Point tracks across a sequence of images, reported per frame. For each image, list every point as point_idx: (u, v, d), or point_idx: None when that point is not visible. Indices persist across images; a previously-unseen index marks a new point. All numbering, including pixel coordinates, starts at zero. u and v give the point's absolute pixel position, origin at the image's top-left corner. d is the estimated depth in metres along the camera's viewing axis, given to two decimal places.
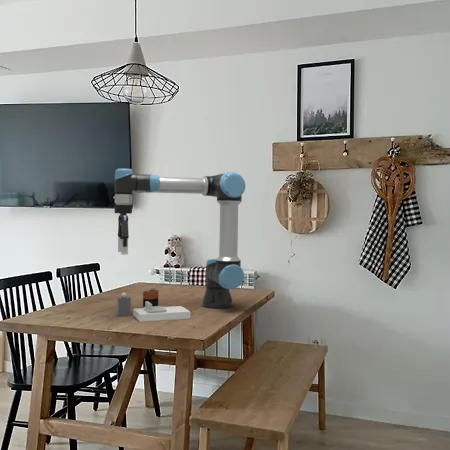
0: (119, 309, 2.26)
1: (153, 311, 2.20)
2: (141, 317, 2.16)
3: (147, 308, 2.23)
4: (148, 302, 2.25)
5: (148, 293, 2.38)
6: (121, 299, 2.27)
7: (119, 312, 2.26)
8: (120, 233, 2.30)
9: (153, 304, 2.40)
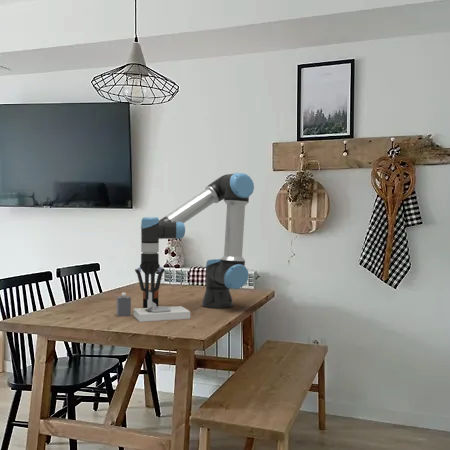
0: (119, 309, 2.26)
1: (157, 311, 2.20)
2: (141, 317, 2.16)
3: (151, 308, 2.24)
4: (152, 302, 2.25)
5: None
6: (121, 299, 2.27)
7: (119, 312, 2.26)
8: (151, 285, 2.25)
9: None
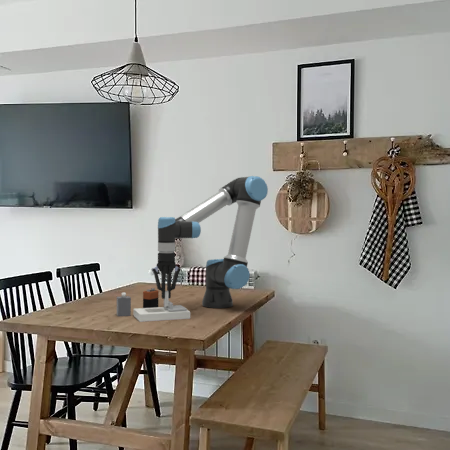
0: (119, 309, 2.26)
1: (174, 310, 2.23)
2: (141, 317, 2.16)
3: (168, 307, 2.26)
4: None
5: (148, 293, 2.38)
6: (121, 299, 2.27)
7: (119, 312, 2.26)
8: (167, 284, 2.27)
9: (153, 304, 2.40)
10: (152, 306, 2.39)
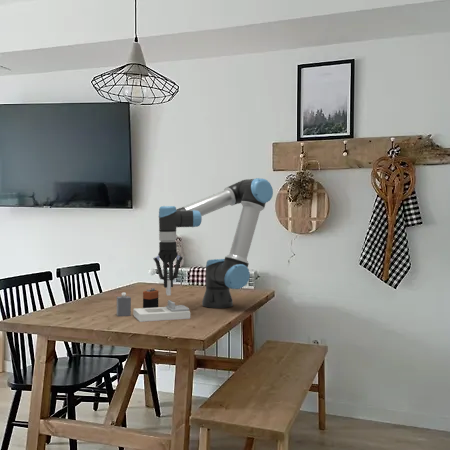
0: (119, 309, 2.26)
1: (176, 310, 2.23)
2: (141, 317, 2.16)
3: (170, 307, 2.27)
4: (171, 301, 2.28)
5: (148, 293, 2.38)
6: (121, 299, 2.27)
7: (119, 312, 2.26)
8: (169, 273, 2.28)
9: (153, 304, 2.40)
10: (152, 306, 2.39)
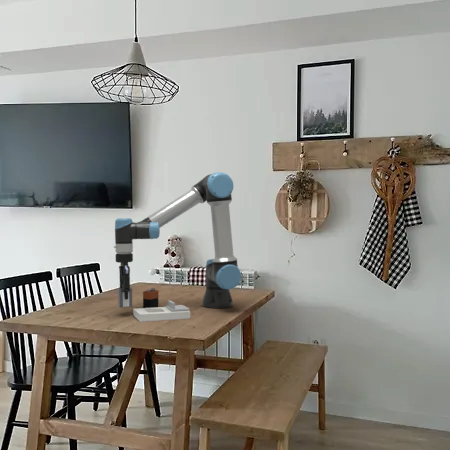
0: (120, 300, 2.26)
1: (176, 310, 2.23)
2: (141, 317, 2.16)
3: (170, 307, 2.27)
4: (171, 301, 2.28)
5: (148, 293, 2.38)
6: (122, 290, 2.27)
7: (120, 303, 2.26)
8: (122, 284, 2.31)
9: (153, 304, 2.40)
10: (152, 306, 2.39)
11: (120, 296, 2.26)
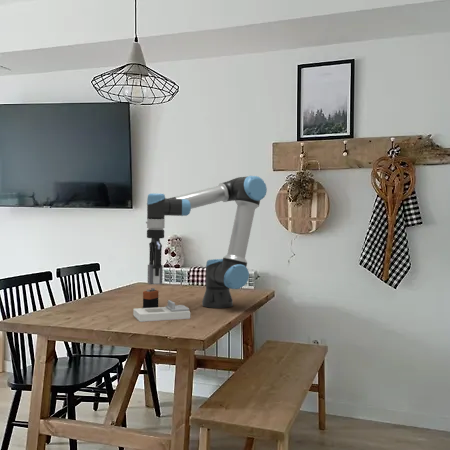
0: (151, 277, 2.22)
1: (176, 310, 2.23)
2: (141, 317, 2.16)
3: (170, 307, 2.27)
4: (171, 301, 2.28)
5: (148, 293, 2.38)
6: (153, 266, 2.22)
7: (151, 280, 2.22)
8: (152, 261, 2.27)
9: (153, 304, 2.40)
10: (152, 306, 2.39)
11: (150, 272, 2.22)
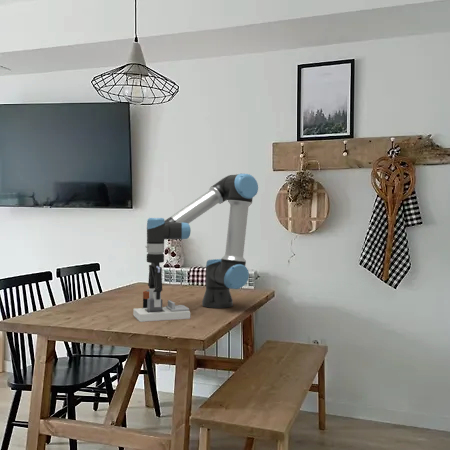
0: (151, 311, 2.22)
1: (176, 310, 2.23)
2: (141, 317, 2.16)
3: (170, 307, 2.27)
4: (171, 301, 2.28)
5: (148, 293, 2.38)
6: (153, 301, 2.22)
7: None
8: (151, 283, 2.29)
9: None
10: None
11: (150, 307, 2.22)
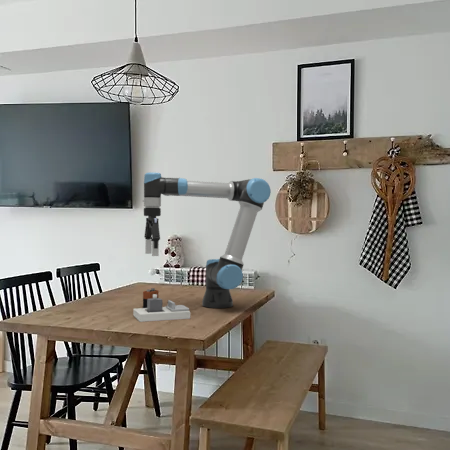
0: (151, 311, 2.22)
1: (176, 310, 2.23)
2: (141, 317, 2.16)
3: (170, 307, 2.27)
4: (171, 301, 2.28)
5: (148, 293, 2.38)
6: (153, 301, 2.22)
7: None
8: (147, 235, 2.36)
9: None
10: None
11: (150, 307, 2.22)
